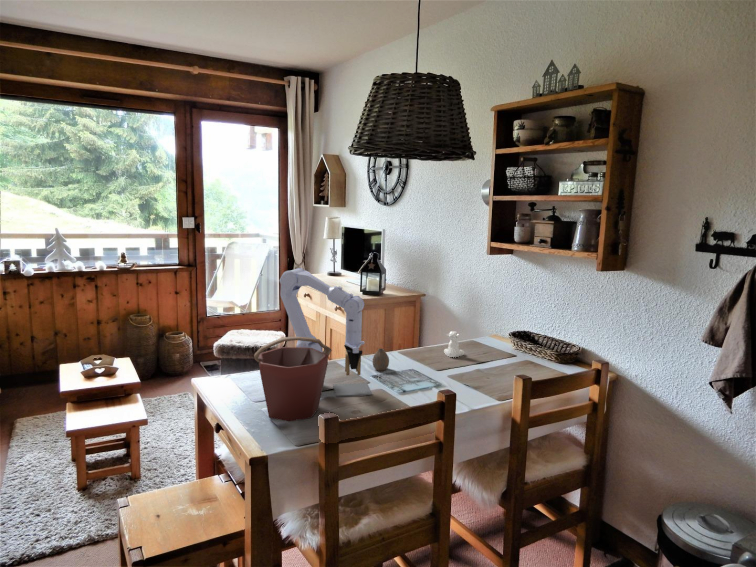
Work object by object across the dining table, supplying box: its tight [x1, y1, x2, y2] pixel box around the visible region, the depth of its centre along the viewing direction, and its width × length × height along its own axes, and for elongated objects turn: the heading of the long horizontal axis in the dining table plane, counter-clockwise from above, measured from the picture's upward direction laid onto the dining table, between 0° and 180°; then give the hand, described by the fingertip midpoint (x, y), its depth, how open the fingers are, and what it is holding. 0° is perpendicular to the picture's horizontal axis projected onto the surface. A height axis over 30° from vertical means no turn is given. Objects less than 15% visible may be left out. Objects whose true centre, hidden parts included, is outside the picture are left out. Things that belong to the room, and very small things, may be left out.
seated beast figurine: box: [443, 330, 466, 359], centre depth 233 cm, size 10×9×12 cm
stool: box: [344, 350, 362, 376], centre depth 186 cm, size 5×5×8 cm
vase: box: [372, 348, 390, 372], centre depth 211 cm, size 7×7×9 cm
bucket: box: [253, 336, 332, 423], centre depth 166 cm, size 24×22×25 cm
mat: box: [332, 382, 373, 398], centre depth 188 cm, size 13×11×1 cm
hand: (352, 366), depth 186 cm, fingers closed on stool, 5 cm apart
